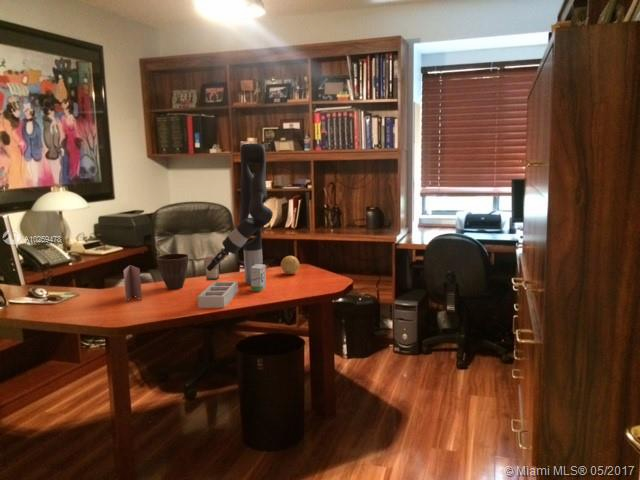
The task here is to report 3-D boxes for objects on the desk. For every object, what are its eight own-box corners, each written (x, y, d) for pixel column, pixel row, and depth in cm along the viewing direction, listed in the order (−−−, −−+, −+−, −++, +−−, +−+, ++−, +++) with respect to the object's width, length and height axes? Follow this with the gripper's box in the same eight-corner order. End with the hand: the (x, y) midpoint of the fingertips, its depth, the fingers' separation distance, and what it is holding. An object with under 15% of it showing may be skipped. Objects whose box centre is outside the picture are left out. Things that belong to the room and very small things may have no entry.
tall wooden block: (209, 278, 237) (207, 255, 235) (219, 278, 236) (217, 255, 235) (206, 280, 232) (204, 257, 231) (216, 280, 232) (215, 257, 230)
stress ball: (291, 273, 296) (276, 262, 294) (302, 260, 295) (288, 249, 292) (292, 280, 287) (277, 269, 284) (303, 266, 285) (288, 256, 282)
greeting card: (130, 295, 255) (128, 264, 252) (146, 295, 256) (144, 264, 253) (124, 302, 244) (121, 270, 241) (141, 301, 244) (138, 269, 242)
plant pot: (192, 289, 263) (190, 257, 260) (160, 293, 258) (158, 260, 255) (188, 283, 277) (186, 252, 274) (158, 286, 272) (156, 255, 269)
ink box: (256, 287, 265) (255, 263, 263) (266, 287, 263) (265, 263, 262) (250, 291, 256) (249, 267, 254) (261, 292, 255) (260, 267, 253)
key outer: (206, 297, 239) (206, 293, 239) (224, 296, 239) (224, 293, 238) (202, 300, 233) (202, 297, 233) (221, 300, 233) (221, 297, 232)
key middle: (211, 292, 247) (211, 289, 247) (229, 292, 247) (229, 289, 246) (208, 295, 241) (207, 293, 241) (226, 295, 241) (225, 293, 240)
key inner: (216, 287, 255) (216, 284, 255) (233, 287, 255) (233, 284, 254) (213, 291, 249) (212, 288, 249) (230, 290, 249) (230, 287, 248)
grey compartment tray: (214, 292, 258) (214, 281, 257) (238, 291, 257) (237, 281, 256) (198, 307, 232) (197, 296, 231) (224, 307, 231) (223, 296, 230)
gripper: (233, 232, 238) (208, 259, 240) (224, 237, 223) (198, 266, 226) (245, 243, 238) (220, 270, 241) (238, 249, 224) (211, 278, 227)
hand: (210, 268), depth 234 cm, fingers closed on tall wooden block, 4 cm apart
